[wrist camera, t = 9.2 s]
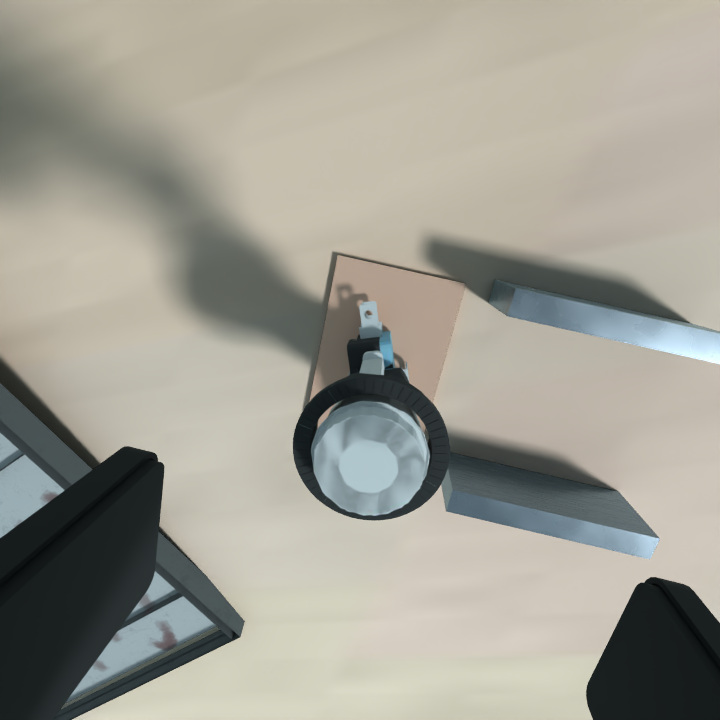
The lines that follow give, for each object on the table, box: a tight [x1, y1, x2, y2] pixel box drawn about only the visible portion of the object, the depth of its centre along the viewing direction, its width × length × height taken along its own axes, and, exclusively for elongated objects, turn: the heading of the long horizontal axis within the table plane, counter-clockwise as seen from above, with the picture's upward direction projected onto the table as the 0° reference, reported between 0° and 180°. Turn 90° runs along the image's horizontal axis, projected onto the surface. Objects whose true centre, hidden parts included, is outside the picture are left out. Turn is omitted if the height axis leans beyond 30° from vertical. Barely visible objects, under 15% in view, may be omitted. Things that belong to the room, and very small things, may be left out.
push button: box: [293, 301, 450, 520], centre depth 18 cm, size 7×5×10 cm
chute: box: [441, 280, 720, 559], centre depth 21 cm, size 10×11×4 cm
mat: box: [309, 255, 466, 433], centre depth 23 cm, size 7×10×1 cm, turn 168°
